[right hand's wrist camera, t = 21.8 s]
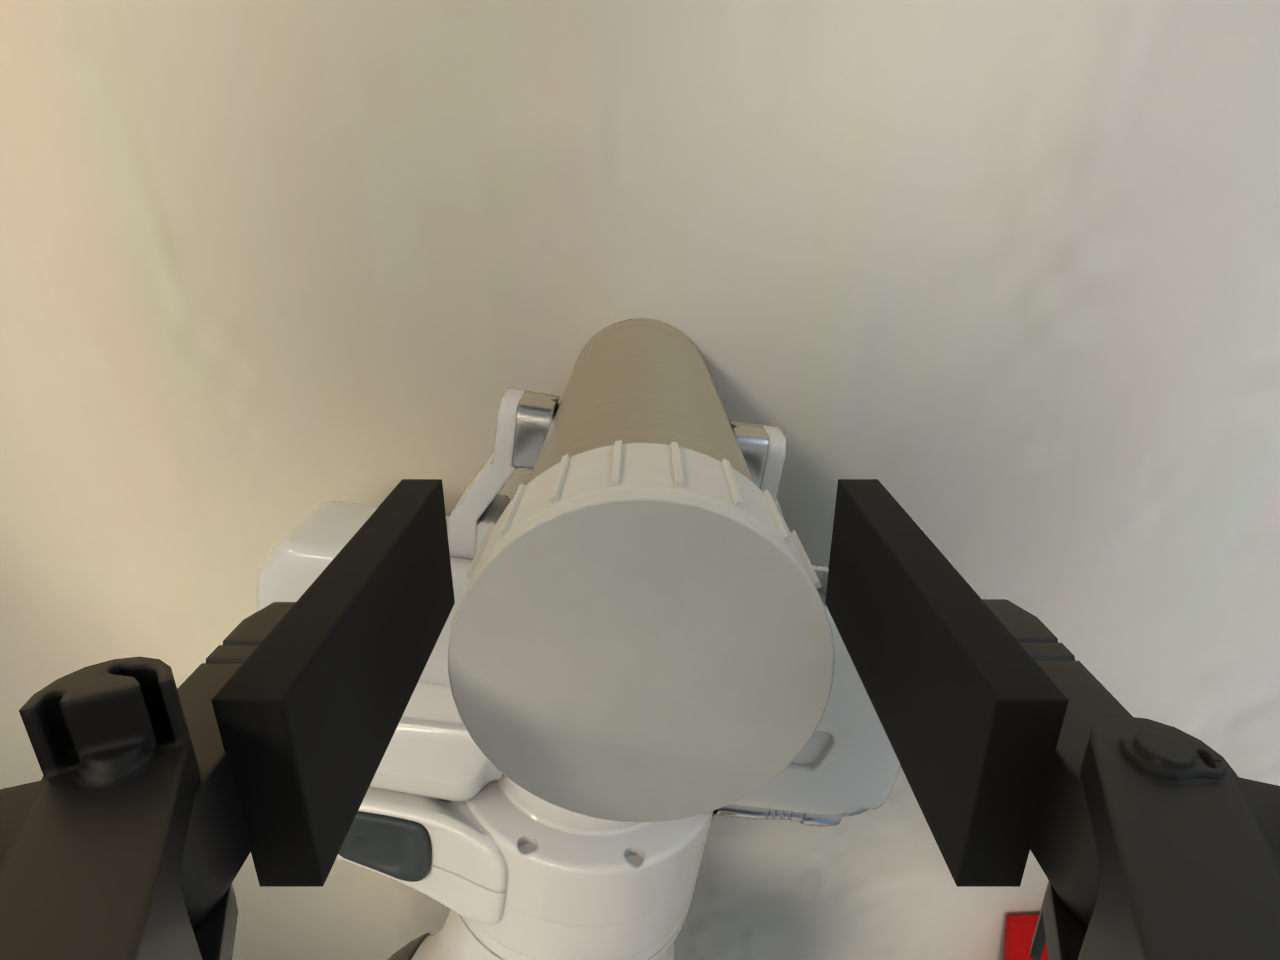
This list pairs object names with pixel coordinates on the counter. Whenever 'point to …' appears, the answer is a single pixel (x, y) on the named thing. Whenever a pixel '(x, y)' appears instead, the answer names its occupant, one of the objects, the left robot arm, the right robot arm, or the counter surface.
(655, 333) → the jar
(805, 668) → the lid
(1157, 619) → the counter surface
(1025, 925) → the toy
